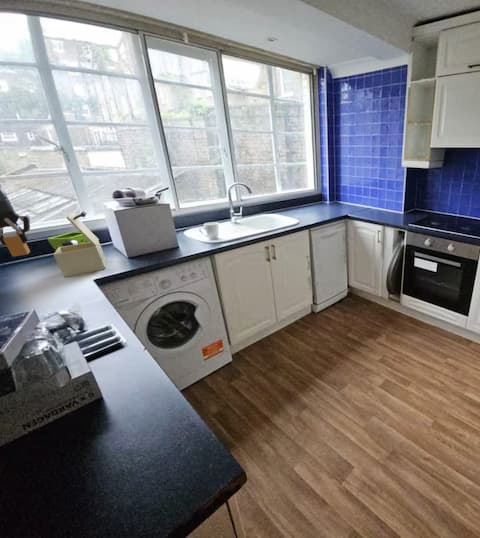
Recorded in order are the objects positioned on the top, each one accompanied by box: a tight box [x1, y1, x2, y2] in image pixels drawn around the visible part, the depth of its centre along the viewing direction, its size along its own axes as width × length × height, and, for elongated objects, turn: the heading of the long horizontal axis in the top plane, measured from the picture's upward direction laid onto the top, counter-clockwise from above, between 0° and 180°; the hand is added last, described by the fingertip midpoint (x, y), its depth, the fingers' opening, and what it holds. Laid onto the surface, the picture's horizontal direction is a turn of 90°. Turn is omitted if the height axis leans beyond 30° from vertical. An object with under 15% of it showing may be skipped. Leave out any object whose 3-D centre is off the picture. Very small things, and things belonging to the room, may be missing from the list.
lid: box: [65, 211, 100, 246], centre depth 146 cm, size 16×14×6 cm
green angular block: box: [47, 231, 90, 251], centre depth 167 cm, size 14×14×13 cm
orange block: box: [2, 230, 31, 258], centre depth 115 cm, size 4×4×9 cm
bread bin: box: [53, 241, 108, 278], centre depth 148 cm, size 16×14×12 cm
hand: (16, 243), depth 115 cm, fingers closed on orange block, 4 cm apart
